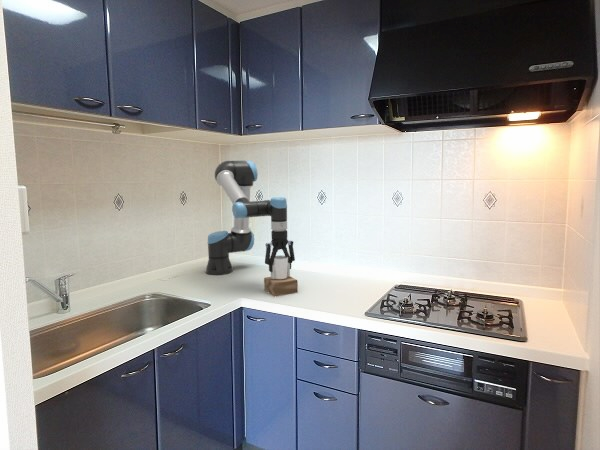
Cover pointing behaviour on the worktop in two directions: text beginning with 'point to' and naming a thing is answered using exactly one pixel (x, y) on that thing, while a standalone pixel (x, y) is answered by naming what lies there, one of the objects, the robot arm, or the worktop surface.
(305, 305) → the worktop surface
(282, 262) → the white cup
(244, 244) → the robot arm
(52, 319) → the worktop surface
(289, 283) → the walnut box
